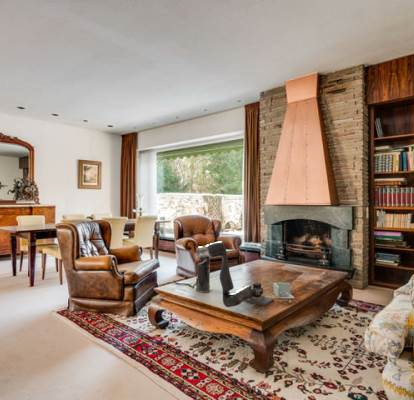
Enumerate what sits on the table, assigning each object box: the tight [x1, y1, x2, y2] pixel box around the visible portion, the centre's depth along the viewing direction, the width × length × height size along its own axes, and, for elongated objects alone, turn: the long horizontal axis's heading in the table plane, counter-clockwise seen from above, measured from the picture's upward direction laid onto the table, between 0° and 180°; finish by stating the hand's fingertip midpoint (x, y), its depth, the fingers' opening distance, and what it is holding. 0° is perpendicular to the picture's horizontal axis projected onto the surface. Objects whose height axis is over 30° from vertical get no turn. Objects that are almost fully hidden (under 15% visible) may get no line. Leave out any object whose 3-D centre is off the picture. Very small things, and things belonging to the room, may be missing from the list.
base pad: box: [244, 294, 275, 307], centre depth 213 cm, size 18×14×3 cm
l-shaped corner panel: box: [273, 282, 296, 299], centre depth 224 cm, size 12×12×8 cm
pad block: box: [252, 282, 262, 298], centre depth 213 cm, size 4×5×10 cm
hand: (256, 288), depth 212 cm, fingers open, 8 cm apart
